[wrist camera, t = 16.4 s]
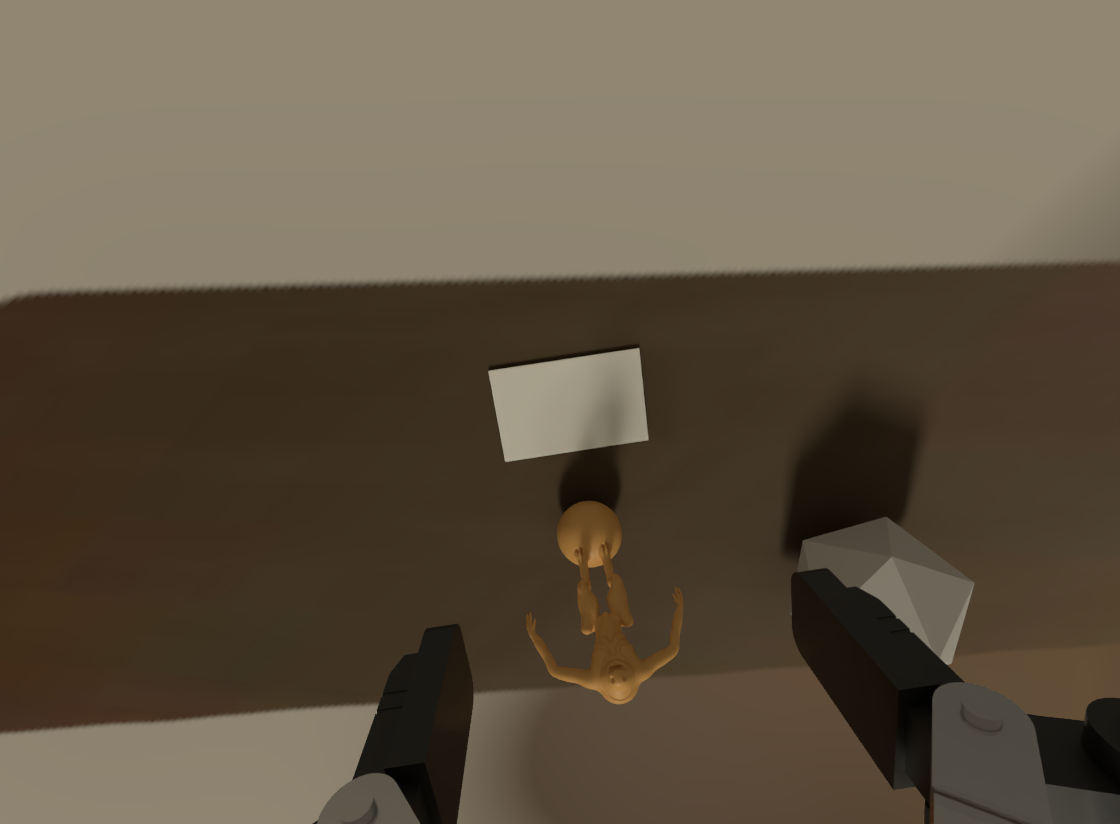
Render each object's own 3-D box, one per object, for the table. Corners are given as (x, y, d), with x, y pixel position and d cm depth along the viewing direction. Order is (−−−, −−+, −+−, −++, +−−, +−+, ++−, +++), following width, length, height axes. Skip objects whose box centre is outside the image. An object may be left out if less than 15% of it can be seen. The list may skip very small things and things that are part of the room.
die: (741, 543, 35) (821, 650, 25) (860, 471, 34) (990, 554, 24) (797, 628, 37) (891, 757, 27) (910, 563, 36) (1048, 673, 26)
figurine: (645, 479, 33) (704, 595, 22) (656, 560, 35) (717, 707, 23) (517, 502, 33) (508, 630, 22) (534, 582, 35) (535, 740, 23)
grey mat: (638, 347, 31) (639, 348, 30) (647, 439, 32) (648, 439, 32) (488, 370, 31) (488, 371, 30) (505, 460, 32) (505, 461, 32)
